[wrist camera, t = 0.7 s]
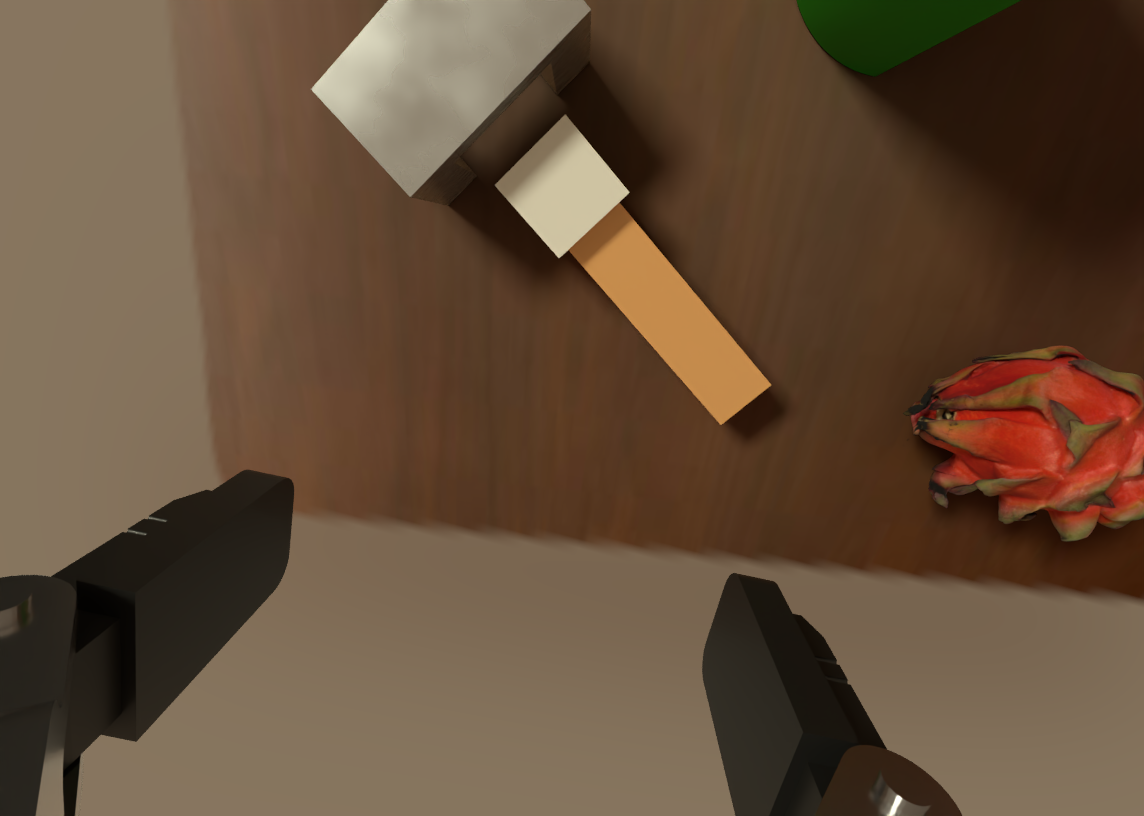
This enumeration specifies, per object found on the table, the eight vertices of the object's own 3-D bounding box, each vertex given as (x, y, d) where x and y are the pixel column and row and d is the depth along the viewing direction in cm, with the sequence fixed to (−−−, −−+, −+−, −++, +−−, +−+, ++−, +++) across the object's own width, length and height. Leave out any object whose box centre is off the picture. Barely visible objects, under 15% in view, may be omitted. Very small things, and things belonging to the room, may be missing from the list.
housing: (589, 62, 27) (590, 9, 20) (448, 205, 28) (410, 197, 22) (513, -33, 26) (491, -119, 19) (372, 122, 27) (311, 89, 21)
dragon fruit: (1071, 449, 33) (859, 388, 34) (1221, 345, 26) (951, 273, 27) (1114, 590, 28) (862, 512, 29) (1314, 505, 21) (976, 408, 22)
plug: (761, 364, 30) (787, 383, 27) (701, 413, 31) (717, 438, 27) (568, 131, 27) (565, 114, 24) (507, 192, 28) (494, 185, 24)
